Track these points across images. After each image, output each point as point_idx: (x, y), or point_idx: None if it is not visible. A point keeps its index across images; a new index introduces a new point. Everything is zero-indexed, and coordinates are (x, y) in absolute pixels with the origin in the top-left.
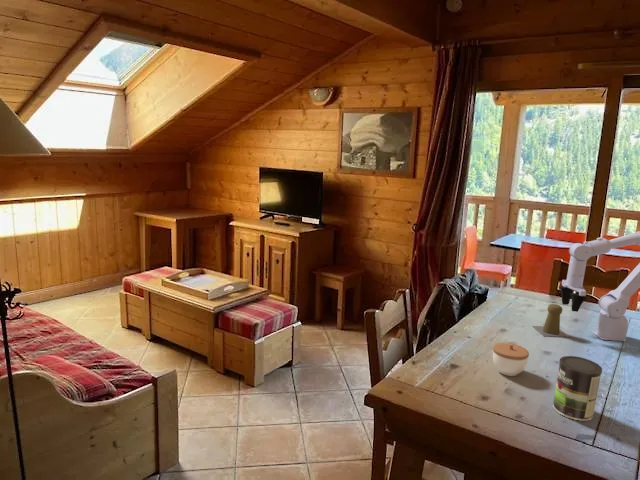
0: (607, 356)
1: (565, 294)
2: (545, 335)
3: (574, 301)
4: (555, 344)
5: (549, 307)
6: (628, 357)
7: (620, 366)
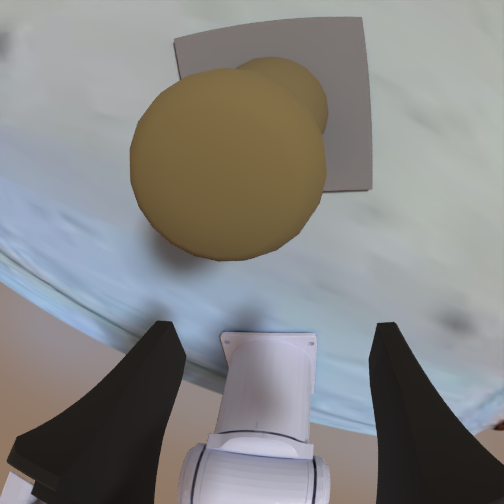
0: (59, 269)
1: (396, 443)
2: (182, 50)
3: (78, 406)
4: (79, 87)
5: (189, 81)
6: (89, 326)
7: (14, 269)
